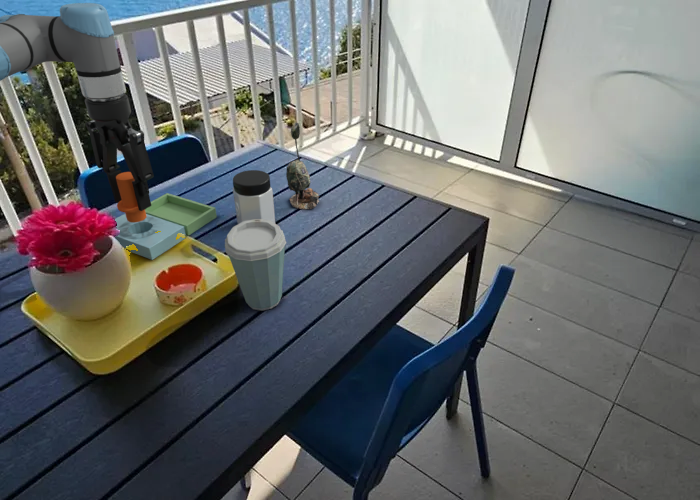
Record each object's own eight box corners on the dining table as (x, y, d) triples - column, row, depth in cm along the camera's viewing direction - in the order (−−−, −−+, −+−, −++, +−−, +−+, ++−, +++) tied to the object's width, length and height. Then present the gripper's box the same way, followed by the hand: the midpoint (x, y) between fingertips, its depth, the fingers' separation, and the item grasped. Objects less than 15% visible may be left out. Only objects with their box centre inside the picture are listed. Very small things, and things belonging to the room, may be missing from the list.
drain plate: (100, 240, 111) (96, 228, 109) (135, 220, 118) (132, 209, 116) (152, 260, 104) (149, 248, 103) (186, 237, 112) (184, 226, 110)
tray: (139, 218, 119) (136, 209, 117) (169, 202, 126) (167, 192, 124) (188, 235, 112) (186, 225, 111) (217, 217, 120) (215, 207, 118)
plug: (114, 220, 107) (102, 178, 102) (137, 208, 112) (127, 166, 106) (135, 228, 105) (124, 185, 99) (158, 215, 109) (149, 173, 104)
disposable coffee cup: (288, 318, 90) (282, 249, 81) (228, 319, 89) (216, 249, 81) (292, 282, 98) (288, 216, 90) (238, 283, 98) (228, 217, 90)
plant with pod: (277, 210, 123) (271, 131, 112) (299, 190, 131) (295, 116, 120) (307, 216, 120) (303, 137, 109) (327, 196, 129) (326, 121, 118)
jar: (233, 219, 119) (227, 173, 112) (266, 211, 122) (261, 166, 115) (245, 237, 112) (239, 189, 105) (279, 228, 115) (275, 181, 109)
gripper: (158, 98, 92) (180, 207, 105) (88, 83, 100) (116, 186, 113) (126, 109, 87) (152, 223, 100) (53, 92, 94) (87, 200, 107)
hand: (133, 203), depth 106 cm, fingers closed on plug, 6 cm apart
